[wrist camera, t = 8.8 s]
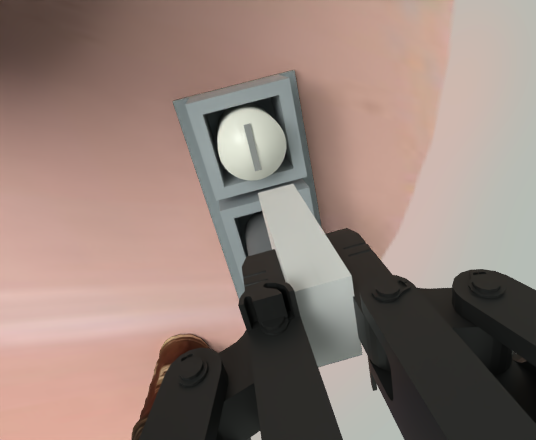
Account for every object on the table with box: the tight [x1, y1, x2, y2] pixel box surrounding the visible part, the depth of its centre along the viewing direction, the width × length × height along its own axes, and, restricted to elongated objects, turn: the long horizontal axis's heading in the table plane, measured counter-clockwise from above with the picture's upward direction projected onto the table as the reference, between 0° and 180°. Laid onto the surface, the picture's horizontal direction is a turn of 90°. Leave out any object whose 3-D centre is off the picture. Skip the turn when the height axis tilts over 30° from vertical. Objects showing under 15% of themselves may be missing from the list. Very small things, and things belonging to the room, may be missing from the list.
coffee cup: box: [132, 334, 209, 440], centre depth 37 cm, size 9×8×13 cm
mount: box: [173, 70, 322, 299], centre depth 34 cm, size 26×11×6 cm, turn 12°
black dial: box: [245, 211, 272, 256], centre depth 30 cm, size 5×5×6 cm
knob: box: [217, 103, 286, 181], centre depth 28 cm, size 5×5×6 cm
